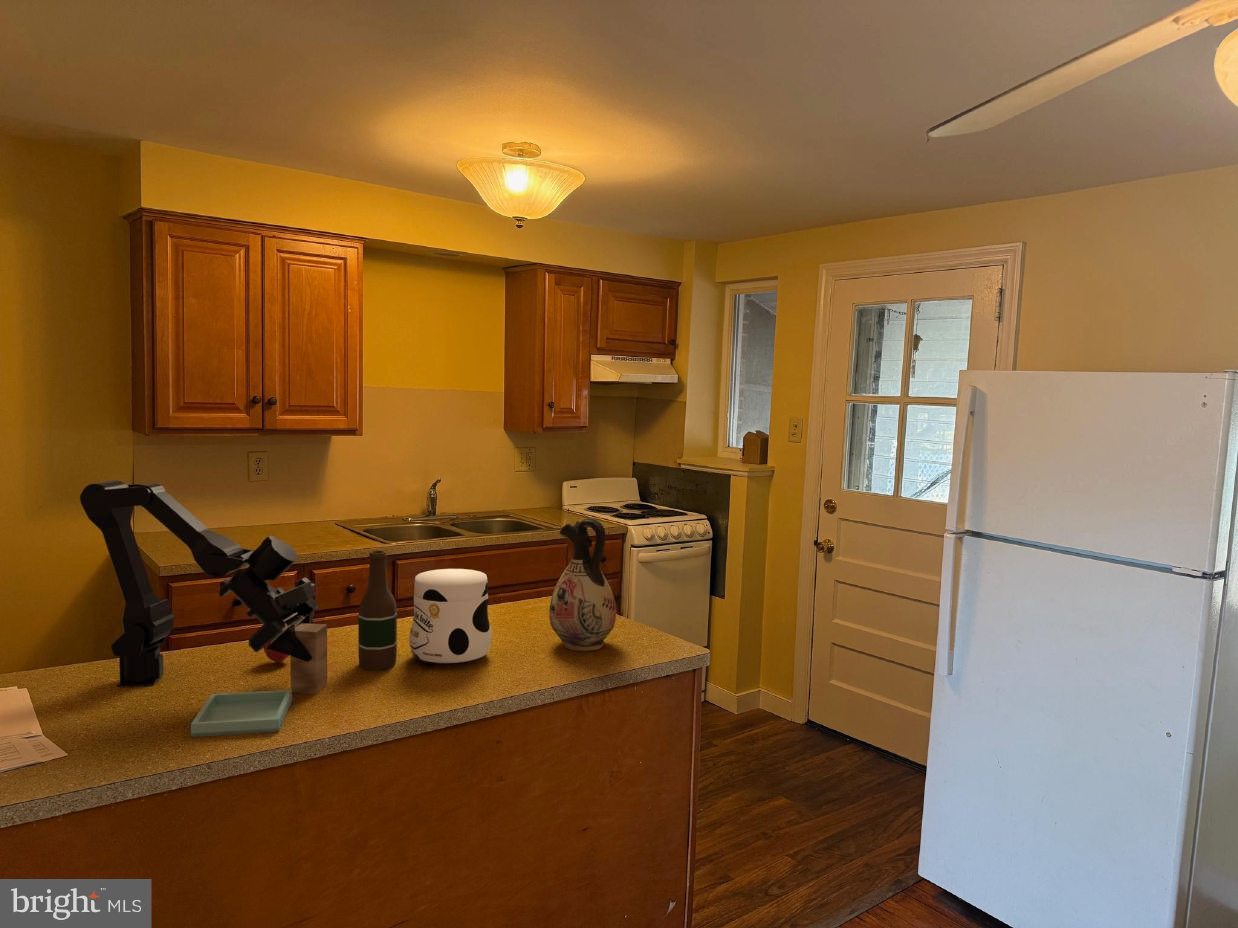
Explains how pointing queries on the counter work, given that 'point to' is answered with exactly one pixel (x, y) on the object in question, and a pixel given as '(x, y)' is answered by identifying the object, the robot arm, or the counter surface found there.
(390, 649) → the beer bottle
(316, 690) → the walnut block
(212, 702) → the teal tray
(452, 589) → the milk container
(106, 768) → the counter surface
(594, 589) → the ceramic jug
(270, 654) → the onion
